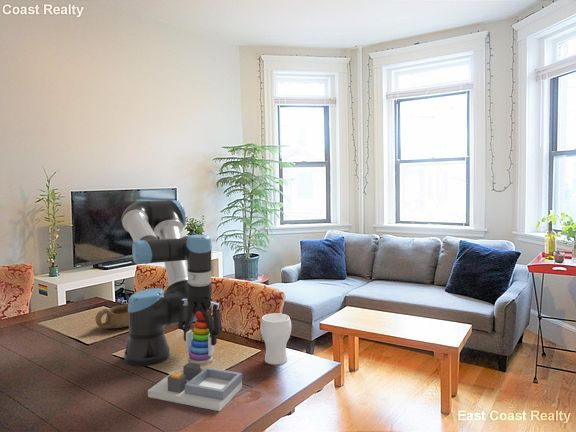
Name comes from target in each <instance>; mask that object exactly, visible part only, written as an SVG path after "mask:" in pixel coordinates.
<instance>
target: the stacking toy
mask: <svg viewBox="0 0 576 432" xmlns="http://www.w3.org/2000/svg"><path fill="white" fill-rule="evenodd" d="M208 311H209V309H208V310H207V311H206V312H208ZM195 316H196V318H197V319H198V320H196V321H194V327H193V329H192V341H191V344H192V345H191V346H190V351H189V352H188V358H187V363H194V364H200V367H206V366H207V367H208V366H209V365H211V364H212V363H213V362H214V360H213V359H214V358H213V354H212V355H211V356H208V336H209V335H210V332H209V329H208V327H207V324H206V321H205V318H204V316H203V315H202V313H201V312H200V311H197V312H195Z"/></svg>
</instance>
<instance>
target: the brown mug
mask: <svg viewBox="0 0 576 432" xmlns="http://www.w3.org/2000/svg"><path fill="white" fill-rule="evenodd" d="M104 315H105V317H106V318H105V322H102V318H103V316H104ZM94 319H95V323H96V325H97V326H98V327H99V328H102V329H122V328H126V327H127V328H129V312H128V303H127V304H126V303H125V304H121V305H115V306H113V307H109V308H104V309H100V310H99V311H98V312H97V314H96V315H95V317H94Z"/></svg>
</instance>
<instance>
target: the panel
mask: <svg viewBox="0 0 576 432" xmlns="http://www.w3.org/2000/svg"><path fill="white" fill-rule="evenodd" d="M174 372H181V373H183V370H179V369H175V370H173V371H172V372H171V373H170V374H168V375H167V376H165V377H164V378H162V380H160V381H158V382H157V383H156V384H154V385H153V386H151V387H150V388H149V389H147V397H148V398H151V399H158V400H160V401H161V400H162V401H165V402H166V401H167V402H171V403H176V404H181V405H187V406H191V407H197V408H200V409H201V408H202V409H206V410H212V411H218V412H220V411H222V410H223V408H225V406H226V405H227V404H228V403H230V401H231V400H232V399H233V398H234V397H235V396H236V395H237V394H238V392H240V391H241V389H242V388H243V381H242V382H241V383H240V384H239V385H238V386H237V387H236V388H235V389H234V390H233V391H232V392H231V393H230V394H229V395H228V396H227V397H226V398H225V399H224V400H218V399H212V398H207V397H202V396H197V395H191V394H186V393H185V389H184V390H183V391H182V392H181V393H177V392H172V391H168V377H169V376H170V375H171V374H173V373H174ZM188 382H189V380H186V383H188ZM229 382H230V381H227V380H222V379H216V378H210V377H207V378H206V379H205V380H204V381H203V382H201V383H200V384H199V385H200V386H205V387H211V388H216V389H223V388H224V387H225V386H226V385H227V384H228V383H229Z"/></svg>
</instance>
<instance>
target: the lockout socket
mask: <svg viewBox="0 0 576 432" xmlns="http://www.w3.org/2000/svg"><path fill="white" fill-rule="evenodd" d="M207 377H210V378H216V379H222V380H227V381H230V382H229V383H228V384H227V385H226V386H225V387H224V388H223V389H216V388H211V387H205V386H200V385H199V384H200V383H201V382H203V381H204V380H205V379H206V378H207ZM241 382H242V383H243V373H242V372H236V371H231V370H226V369H225V370H224V369H219V368H212V367H208V366H207V367H206V366H205V368H203V370H200V373H199V374H198V375H196V376H195V377H194V378H193V379H191V380H190V381H189V382H188V383H186V384H185V393H186V394H191V395H197V396H202V397H207V398H212V399H218V400H224V399H225V398H226V397H227V396H228V395H229V394H230V393H231V392H232V391H233V390H234V389H235V388H236V387H237V386H238V385H239V384H240V383H241Z"/></svg>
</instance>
